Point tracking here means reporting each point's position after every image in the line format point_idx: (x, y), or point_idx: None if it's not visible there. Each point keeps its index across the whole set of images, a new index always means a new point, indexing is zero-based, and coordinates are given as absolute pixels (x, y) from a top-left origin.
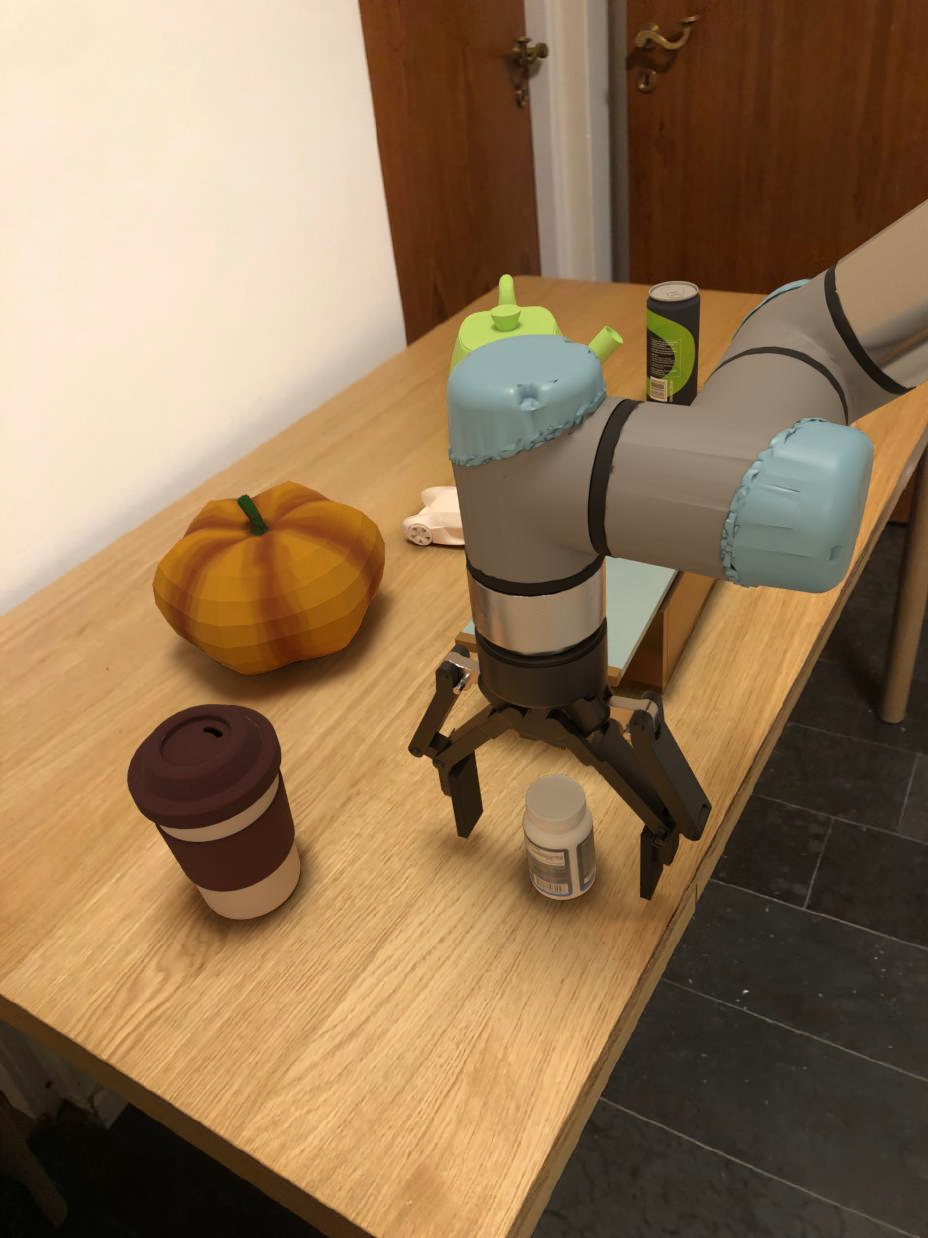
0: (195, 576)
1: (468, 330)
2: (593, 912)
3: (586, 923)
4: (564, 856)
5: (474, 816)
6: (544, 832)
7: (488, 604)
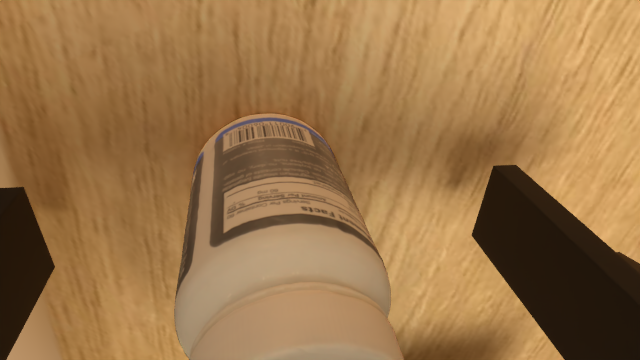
0: None
1: None
2: (160, 118)
3: (159, 86)
4: (223, 219)
5: (496, 221)
6: (300, 275)
7: None
